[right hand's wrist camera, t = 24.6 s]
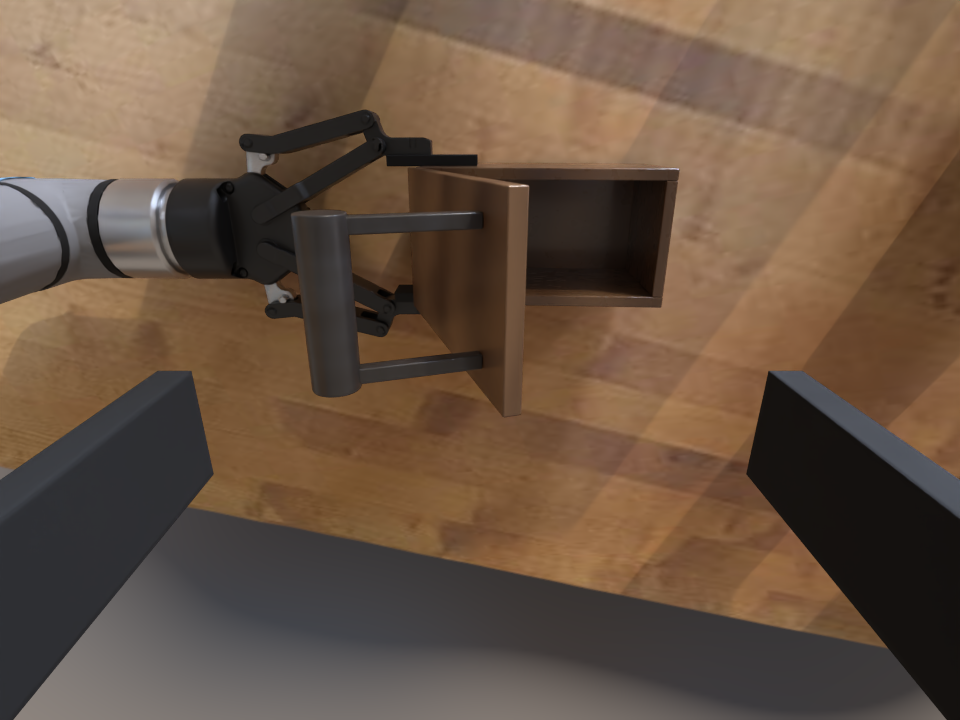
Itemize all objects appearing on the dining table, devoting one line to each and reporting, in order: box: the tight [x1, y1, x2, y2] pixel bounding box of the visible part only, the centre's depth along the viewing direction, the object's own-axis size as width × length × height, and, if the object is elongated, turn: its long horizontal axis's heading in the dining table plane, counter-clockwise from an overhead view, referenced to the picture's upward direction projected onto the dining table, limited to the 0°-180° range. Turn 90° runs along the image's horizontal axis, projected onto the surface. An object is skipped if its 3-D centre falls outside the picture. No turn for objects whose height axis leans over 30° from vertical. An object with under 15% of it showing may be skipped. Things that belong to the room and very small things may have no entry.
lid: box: [291, 168, 529, 417], centre depth 28 cm, size 18×9×8 cm
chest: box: [416, 163, 679, 307], centre depth 42 cm, size 17×9×10 cm, turn 90°
